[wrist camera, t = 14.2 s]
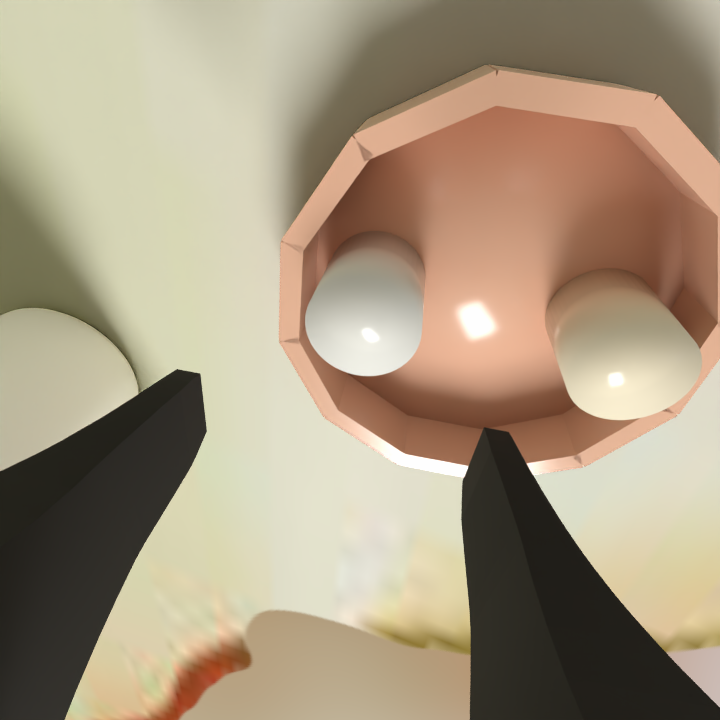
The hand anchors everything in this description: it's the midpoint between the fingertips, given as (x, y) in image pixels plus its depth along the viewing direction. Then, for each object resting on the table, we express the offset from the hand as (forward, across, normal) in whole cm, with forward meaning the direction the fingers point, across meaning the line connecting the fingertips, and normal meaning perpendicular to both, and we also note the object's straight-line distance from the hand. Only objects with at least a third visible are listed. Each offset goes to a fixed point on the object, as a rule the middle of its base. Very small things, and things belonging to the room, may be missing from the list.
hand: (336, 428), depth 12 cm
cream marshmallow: (+9, -9, 0) cm, 13 cm away
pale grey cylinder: (+9, 0, 0) cm, 9 cm away
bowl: (+9, -4, 0) cm, 10 cm away
